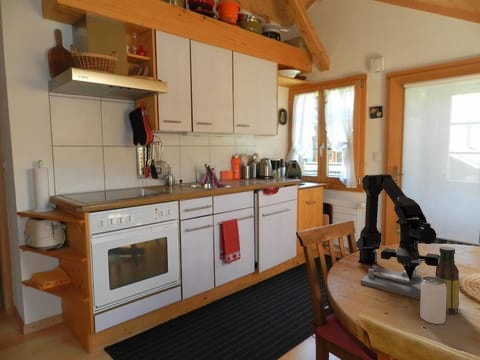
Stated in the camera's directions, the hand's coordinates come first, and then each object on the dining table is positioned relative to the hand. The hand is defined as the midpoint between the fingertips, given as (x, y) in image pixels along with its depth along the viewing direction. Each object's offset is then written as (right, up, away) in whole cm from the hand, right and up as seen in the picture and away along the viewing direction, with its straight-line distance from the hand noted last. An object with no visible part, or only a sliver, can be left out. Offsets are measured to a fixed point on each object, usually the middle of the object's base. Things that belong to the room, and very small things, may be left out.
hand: (410, 280), depth 116 cm
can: (-5, -5, -21) cm, 22 cm away
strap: (-5, -1, +5) cm, 7 cm away
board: (-2, -3, +4) cm, 5 cm away
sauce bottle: (+3, -5, -16) cm, 17 cm away
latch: (+3, -1, +6) cm, 6 cm away
